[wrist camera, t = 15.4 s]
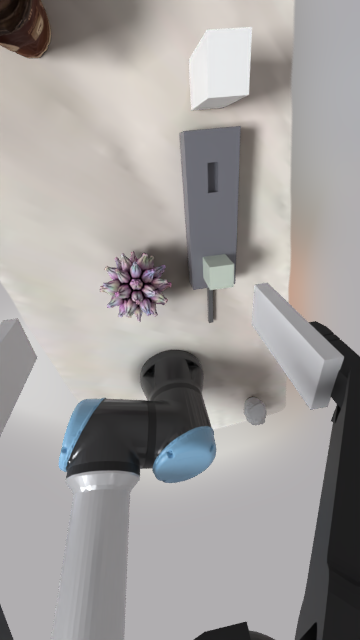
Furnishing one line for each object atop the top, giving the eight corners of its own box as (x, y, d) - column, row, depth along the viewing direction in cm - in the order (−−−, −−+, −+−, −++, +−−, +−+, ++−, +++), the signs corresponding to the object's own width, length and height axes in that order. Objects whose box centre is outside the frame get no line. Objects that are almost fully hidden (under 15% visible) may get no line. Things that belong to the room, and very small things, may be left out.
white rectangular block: (220, 109, 39) (248, 94, 29) (189, 111, 38) (208, 98, 29) (220, 60, 36) (252, 26, 26) (187, 62, 35) (206, 29, 26)
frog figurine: (237, 409, 76) (246, 430, 70) (242, 392, 72) (251, 413, 67) (257, 407, 77) (268, 428, 71) (263, 390, 73) (274, 411, 68)
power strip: (227, 317, 58) (234, 329, 54) (192, 322, 58) (196, 335, 54) (231, 128, 40) (242, 125, 36) (179, 133, 39) (184, 130, 35)
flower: (146, 310, 55) (149, 345, 45) (92, 281, 50) (81, 313, 40) (179, 266, 50) (191, 293, 41) (124, 228, 45) (121, 250, 35)
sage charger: (224, 275, 48) (233, 286, 44) (203, 278, 48) (210, 290, 44) (225, 254, 46) (234, 264, 42) (202, 257, 46) (209, 267, 42)
